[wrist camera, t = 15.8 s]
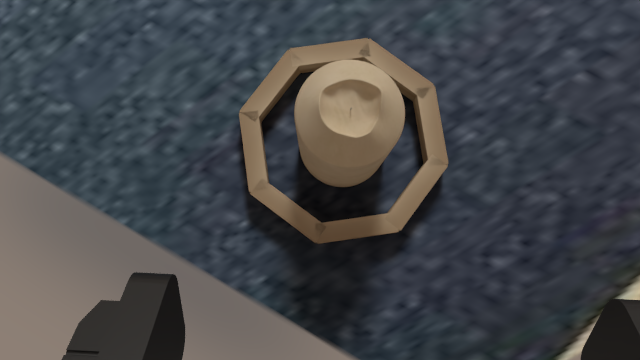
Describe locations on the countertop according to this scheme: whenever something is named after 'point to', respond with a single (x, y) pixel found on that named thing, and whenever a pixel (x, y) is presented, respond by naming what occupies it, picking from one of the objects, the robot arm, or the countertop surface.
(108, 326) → the robot arm
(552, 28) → the countertop surface
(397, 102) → the candle
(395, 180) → the countertop surface
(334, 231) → the maple ring
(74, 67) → the countertop surface
